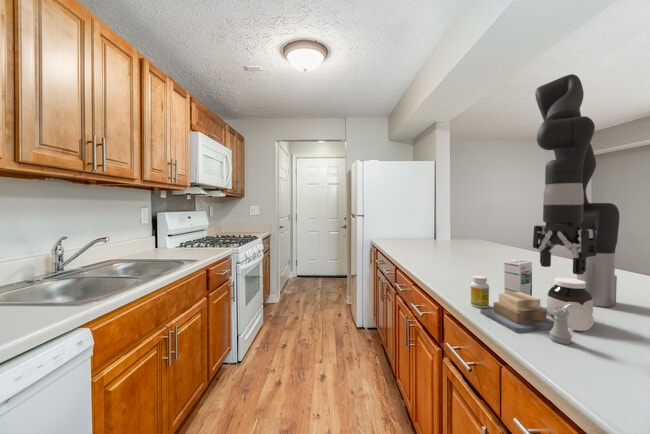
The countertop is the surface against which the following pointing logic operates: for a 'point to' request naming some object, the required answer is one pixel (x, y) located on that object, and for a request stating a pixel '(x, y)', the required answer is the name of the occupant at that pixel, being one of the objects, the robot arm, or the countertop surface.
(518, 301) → the block tower
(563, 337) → the rook chess piece
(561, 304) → the spread jar
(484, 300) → the supplement bottle
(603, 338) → the countertop surface
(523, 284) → the syrup box
